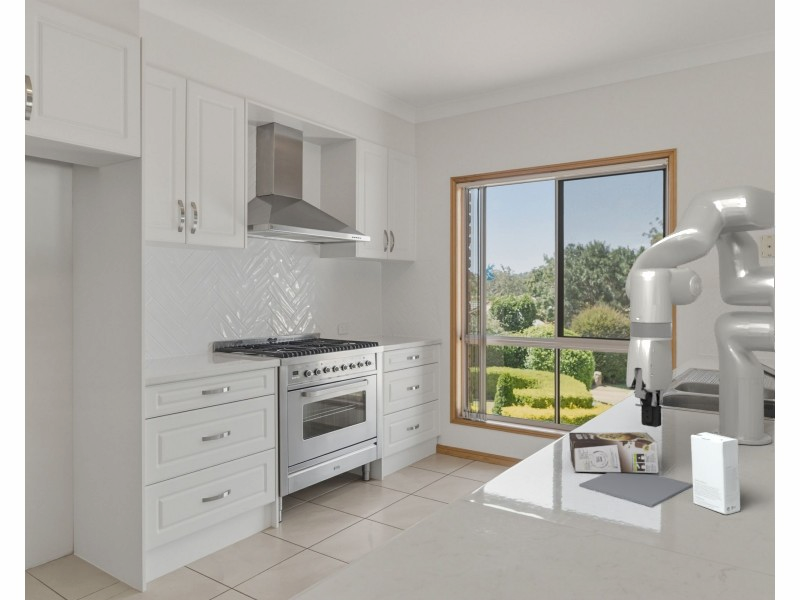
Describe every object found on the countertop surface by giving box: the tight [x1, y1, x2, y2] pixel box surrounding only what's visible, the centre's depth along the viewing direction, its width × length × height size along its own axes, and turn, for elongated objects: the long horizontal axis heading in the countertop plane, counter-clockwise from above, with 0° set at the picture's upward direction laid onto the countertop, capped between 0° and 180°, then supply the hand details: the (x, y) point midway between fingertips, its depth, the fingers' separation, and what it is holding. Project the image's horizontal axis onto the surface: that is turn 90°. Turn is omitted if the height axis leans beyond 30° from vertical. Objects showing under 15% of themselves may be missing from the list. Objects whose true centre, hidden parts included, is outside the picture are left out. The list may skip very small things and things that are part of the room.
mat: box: [578, 472, 693, 508], centre depth 106 cm, size 16×14×1 cm
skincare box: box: [690, 431, 741, 515], centre depth 96 cm, size 6×4×12 cm
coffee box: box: [568, 431, 660, 474], centre depth 117 cm, size 9×6×16 cm
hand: (651, 425), depth 110 cm, fingers closed
